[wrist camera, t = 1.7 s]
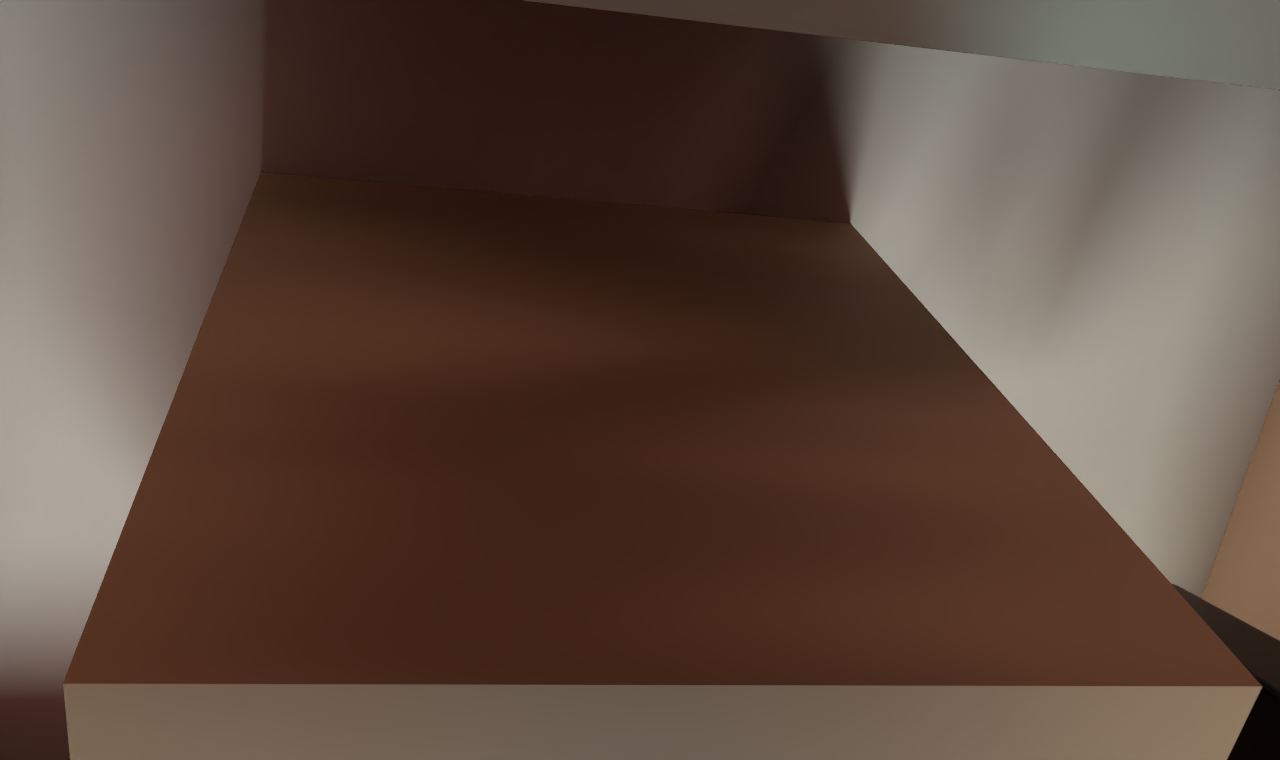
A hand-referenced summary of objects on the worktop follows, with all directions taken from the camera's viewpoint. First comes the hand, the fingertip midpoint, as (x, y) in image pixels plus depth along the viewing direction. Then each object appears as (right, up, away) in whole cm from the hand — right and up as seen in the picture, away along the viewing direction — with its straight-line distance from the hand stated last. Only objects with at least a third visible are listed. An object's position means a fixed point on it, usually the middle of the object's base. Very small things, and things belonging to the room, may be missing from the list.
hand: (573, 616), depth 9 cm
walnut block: (0, +1, +2) cm, 3 cm away
